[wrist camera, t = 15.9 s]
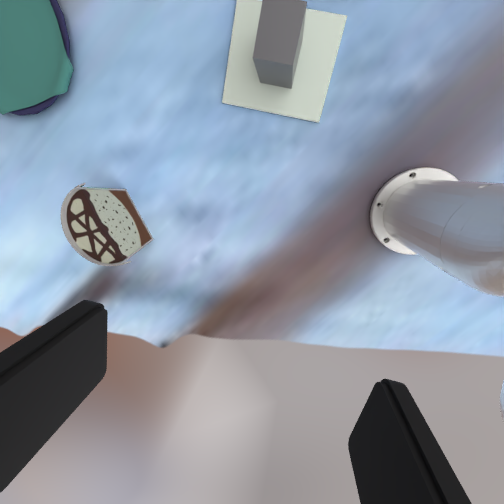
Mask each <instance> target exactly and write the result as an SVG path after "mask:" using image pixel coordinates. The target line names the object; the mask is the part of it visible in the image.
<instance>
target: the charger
mask: <svg viewBox="0 0 504 504" xmlns="http://www.w3.org/2000/svg"><path fill="white" fill-rule="evenodd" d="M306 6H307V2H306V1H301V0H262V6H261V12H260V18H259V23H258V29H257V35H256V41H255V47H254V52H253V61H254V64H255V67H256V71H257V74H258V77H259V81H260V83H264V84H269V85H274V86H279V87H284V88H289V89H292V85H293V81H294V76H295V72H296V67H297V63H298V58H299V54H300V49H301V45H302V40H303V31H304V23H305V15H306Z"/></svg>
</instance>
